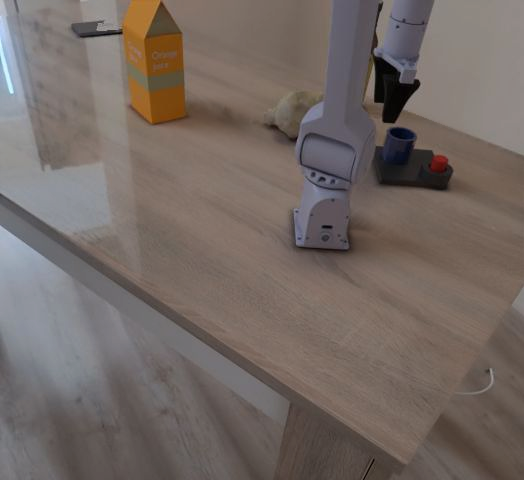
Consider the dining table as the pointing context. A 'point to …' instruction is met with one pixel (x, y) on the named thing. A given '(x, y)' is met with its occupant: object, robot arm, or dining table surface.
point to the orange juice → (154, 61)
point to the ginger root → (292, 111)
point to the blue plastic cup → (398, 145)
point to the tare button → (439, 163)
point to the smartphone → (90, 28)
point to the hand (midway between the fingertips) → (384, 112)
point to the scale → (412, 171)
